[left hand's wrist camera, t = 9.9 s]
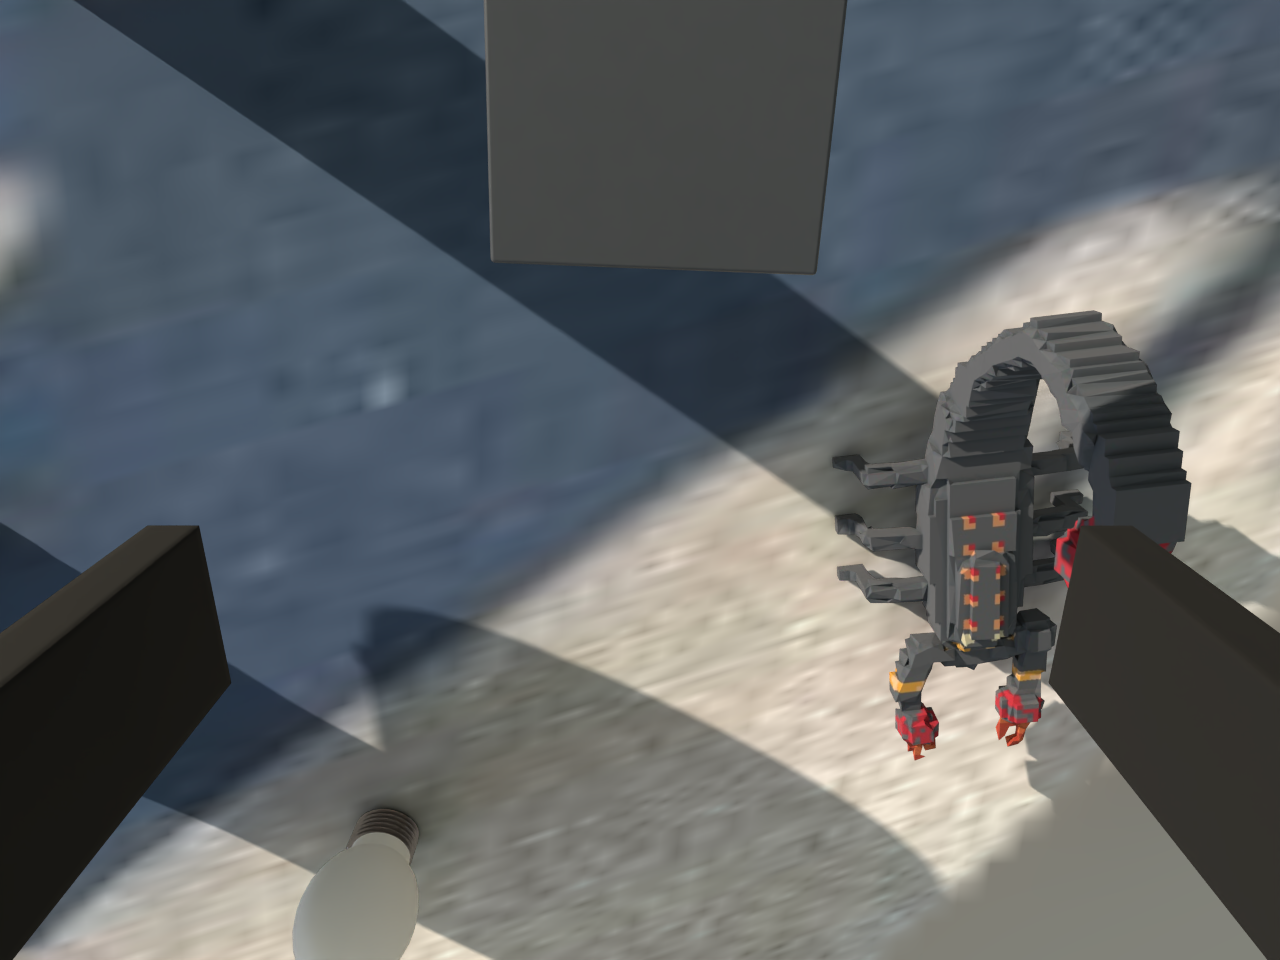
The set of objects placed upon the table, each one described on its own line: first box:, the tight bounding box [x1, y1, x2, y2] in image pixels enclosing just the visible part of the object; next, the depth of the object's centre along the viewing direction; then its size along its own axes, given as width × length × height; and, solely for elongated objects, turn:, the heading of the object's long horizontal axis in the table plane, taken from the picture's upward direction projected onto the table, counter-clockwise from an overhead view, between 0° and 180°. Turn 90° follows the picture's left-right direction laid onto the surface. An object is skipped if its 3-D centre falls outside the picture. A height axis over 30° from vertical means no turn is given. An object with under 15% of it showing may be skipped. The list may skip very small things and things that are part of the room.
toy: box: [833, 311, 1191, 760], centre depth 38 cm, size 13×27×18 cm, turn 7°
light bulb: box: [293, 809, 419, 960], centre depth 49 cm, size 7×7×11 cm
